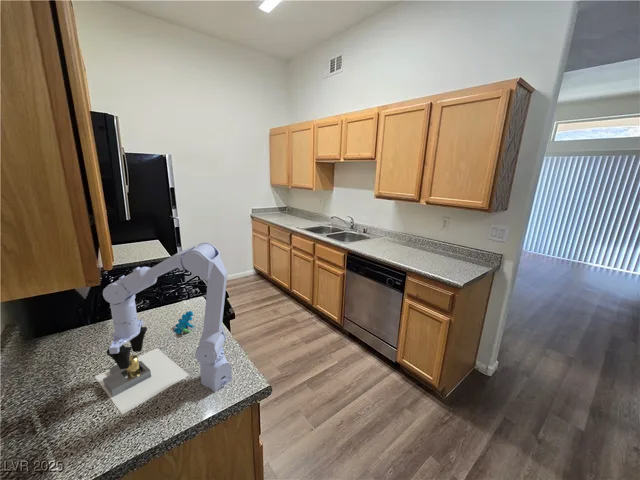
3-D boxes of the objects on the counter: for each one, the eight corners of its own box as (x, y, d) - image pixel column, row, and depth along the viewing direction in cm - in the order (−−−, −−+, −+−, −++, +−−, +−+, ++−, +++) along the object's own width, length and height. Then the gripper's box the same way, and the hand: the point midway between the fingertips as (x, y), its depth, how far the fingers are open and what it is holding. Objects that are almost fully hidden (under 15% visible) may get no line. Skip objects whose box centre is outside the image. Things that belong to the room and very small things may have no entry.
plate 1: (151, 376, 82) (150, 372, 82) (125, 390, 76) (124, 386, 76) (134, 360, 89) (134, 355, 89) (109, 371, 83) (108, 367, 83)
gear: (173, 322, 111) (190, 305, 112) (184, 328, 114) (201, 311, 115) (171, 339, 102) (190, 321, 103) (184, 345, 105) (202, 327, 106)
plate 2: (151, 376, 82) (150, 370, 81) (112, 397, 74) (111, 390, 73) (141, 367, 86) (140, 360, 85) (104, 385, 78) (102, 378, 77)
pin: (142, 377, 82) (139, 358, 80) (130, 383, 79) (127, 363, 77) (137, 372, 83) (135, 353, 82) (126, 378, 81) (123, 359, 79)
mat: (189, 377, 83) (189, 375, 83) (122, 417, 69) (122, 414, 69) (157, 350, 96) (157, 348, 95) (95, 379, 81) (94, 376, 81)
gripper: (123, 307, 83) (129, 345, 86) (93, 334, 69) (101, 377, 72) (148, 306, 84) (152, 343, 87) (123, 332, 70) (129, 375, 73)
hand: (131, 359), depth 80 cm, fingers open, 7 cm apart
